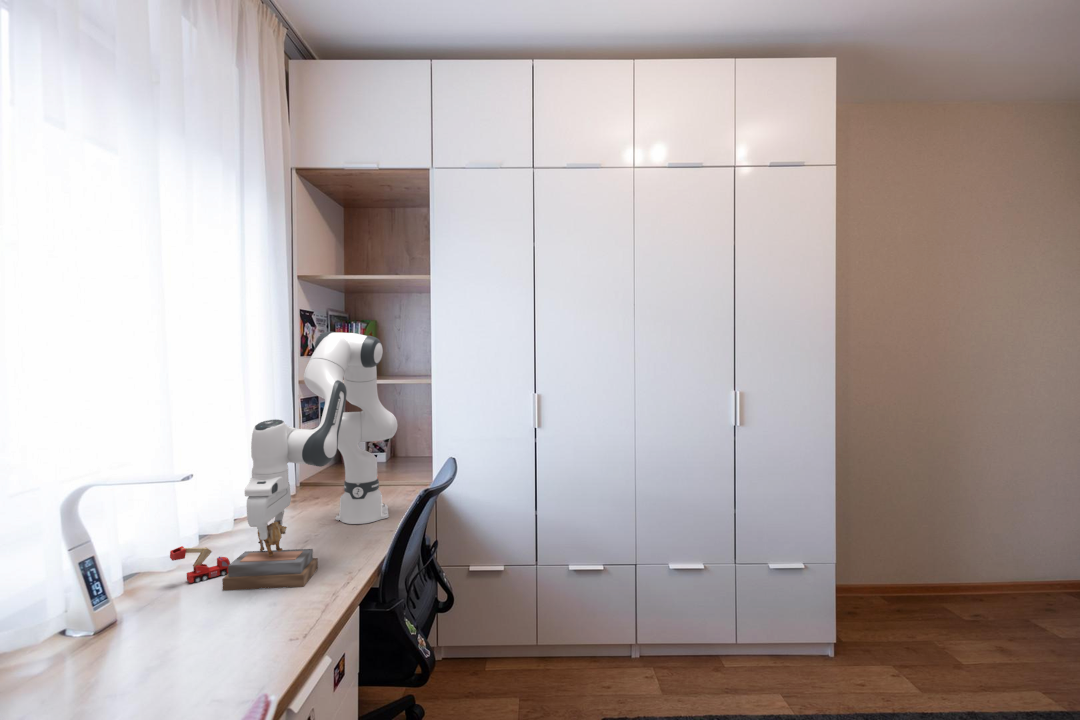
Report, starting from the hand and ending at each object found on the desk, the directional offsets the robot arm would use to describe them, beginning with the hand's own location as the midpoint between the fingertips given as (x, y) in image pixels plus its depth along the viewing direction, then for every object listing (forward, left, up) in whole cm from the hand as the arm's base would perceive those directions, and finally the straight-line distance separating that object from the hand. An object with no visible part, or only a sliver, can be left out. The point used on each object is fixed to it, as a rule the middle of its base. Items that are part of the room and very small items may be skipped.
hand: (271, 532), depth 148 cm
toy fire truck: (-2, -19, -13) cm, 23 cm away
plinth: (0, 0, -12) cm, 12 cm away
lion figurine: (-3, -1, -6) cm, 7 cm away
